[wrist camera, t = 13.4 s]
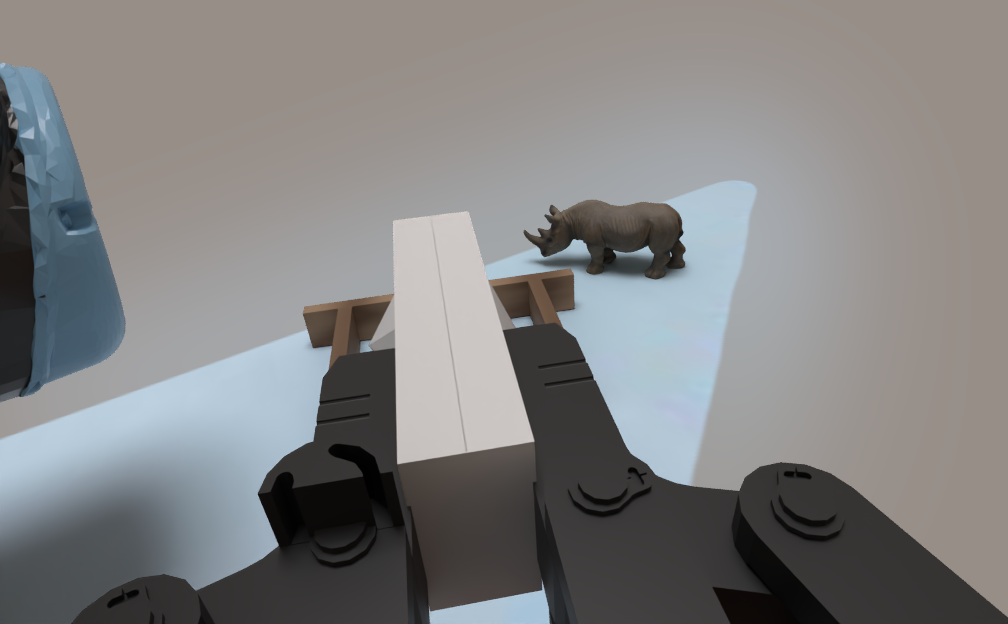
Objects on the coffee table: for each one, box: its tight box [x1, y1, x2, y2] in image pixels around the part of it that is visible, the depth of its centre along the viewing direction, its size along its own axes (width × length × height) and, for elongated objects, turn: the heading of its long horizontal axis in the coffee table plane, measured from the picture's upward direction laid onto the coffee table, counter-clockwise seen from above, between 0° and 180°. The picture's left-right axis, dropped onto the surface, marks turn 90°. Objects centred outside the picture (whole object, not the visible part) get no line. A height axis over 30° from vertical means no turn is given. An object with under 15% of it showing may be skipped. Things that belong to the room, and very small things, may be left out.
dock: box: [303, 269, 574, 369], centre depth 40 cm, size 20×14×3 cm
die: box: [369, 280, 515, 351], centre depth 38 cm, size 8×9×10 cm
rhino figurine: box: [524, 200, 686, 279], centre depth 51 cm, size 4×14×6 cm, turn 74°
